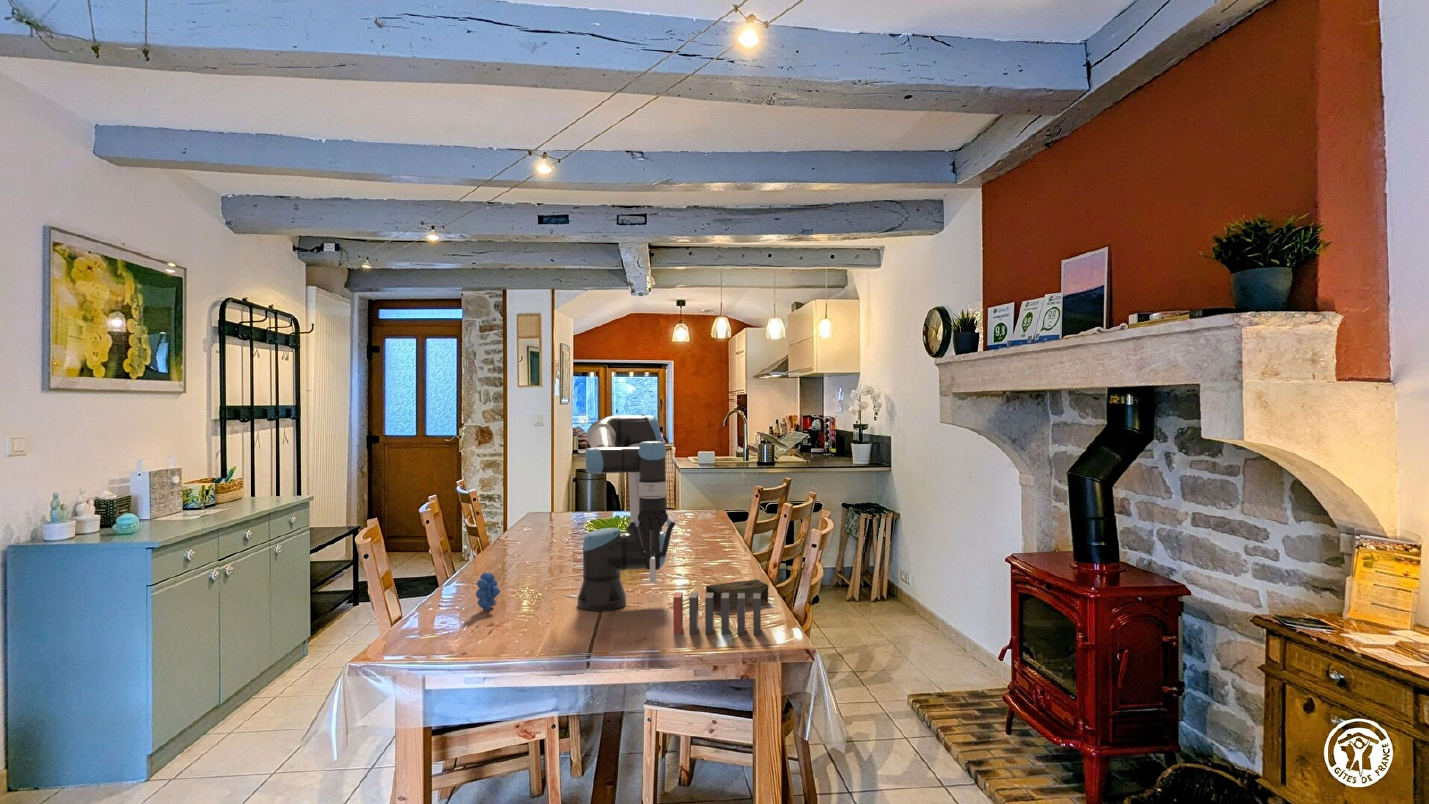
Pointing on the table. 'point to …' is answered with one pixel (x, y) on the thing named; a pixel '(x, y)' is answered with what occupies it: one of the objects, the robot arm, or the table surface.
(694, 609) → the domino
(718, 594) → the beverage carton
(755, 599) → the domino
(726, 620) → the domino
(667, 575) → the table surface
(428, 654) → the table surface
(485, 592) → the grapes
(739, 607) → the domino
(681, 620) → the domino red
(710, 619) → the domino
